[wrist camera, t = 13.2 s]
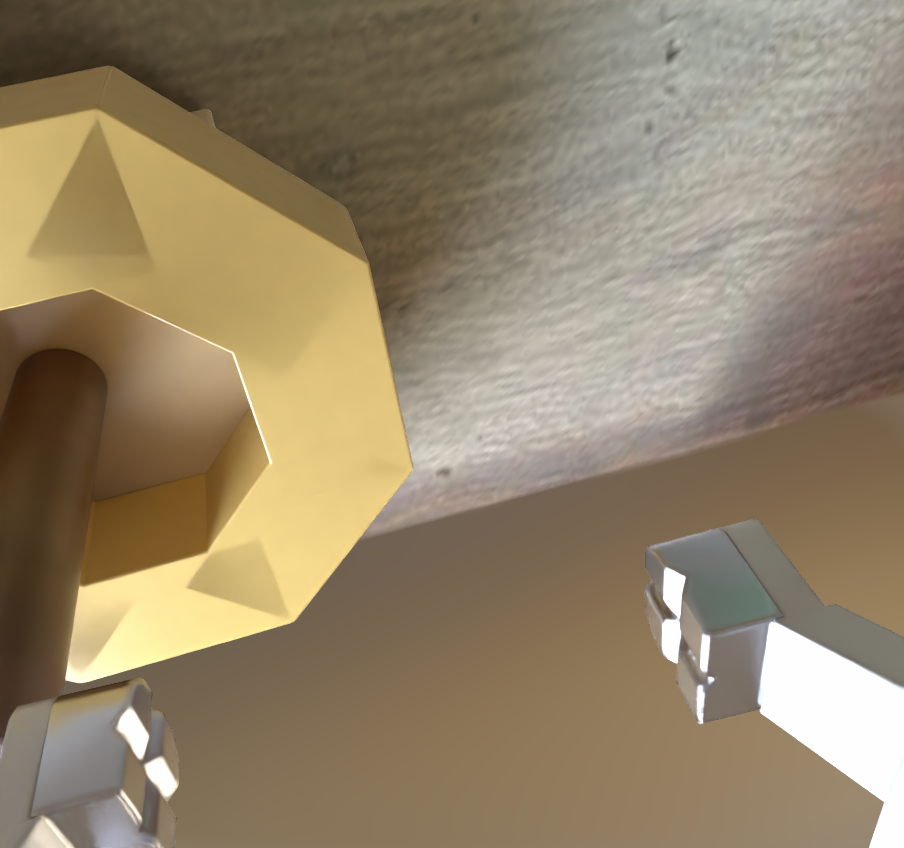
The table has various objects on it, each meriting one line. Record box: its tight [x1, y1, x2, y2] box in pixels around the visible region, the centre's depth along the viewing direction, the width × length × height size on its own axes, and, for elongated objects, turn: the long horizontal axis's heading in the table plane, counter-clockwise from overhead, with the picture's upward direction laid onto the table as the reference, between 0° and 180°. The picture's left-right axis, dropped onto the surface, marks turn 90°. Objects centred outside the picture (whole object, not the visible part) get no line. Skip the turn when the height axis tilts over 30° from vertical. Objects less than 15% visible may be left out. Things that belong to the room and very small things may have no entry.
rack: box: [0, 109, 250, 753], centre depth 15 cm, size 9×9×11 cm
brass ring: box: [0, 66, 413, 683], centre depth 17 cm, size 12×12×3 cm
